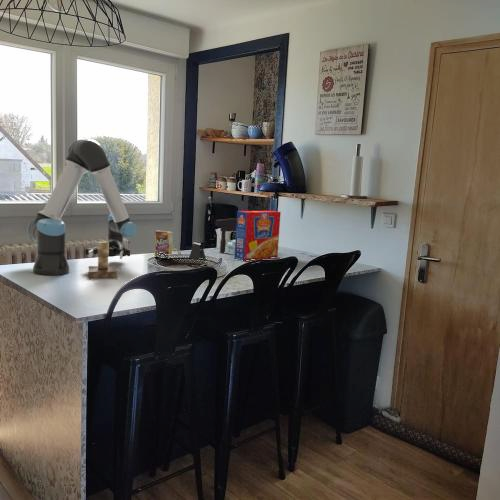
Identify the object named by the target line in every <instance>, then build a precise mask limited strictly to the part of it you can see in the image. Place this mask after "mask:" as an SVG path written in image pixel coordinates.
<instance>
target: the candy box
mask: <svg viewBox="0 0 500 500" xmlns="http://www.w3.org/2000/svg"><path fill="white" fill-rule="evenodd" d="M154 234H155V235H154V257H155V256H156V254H157V251H159V250H160V251H161V252H163V253H165V254H172V255H173V236H174V235H173V234H174V232H173V231H167V230H155V233H154Z"/></svg>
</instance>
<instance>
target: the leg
mask: <svg viewBox="0 0 500 500" xmlns="http://www.w3.org/2000/svg"><path fill="white" fill-rule="evenodd" d="M97 246H98V254H97V266H98V269H99V270H107V269H108V266H109V257H110V256H109V242H108V241H99V242H97Z"/></svg>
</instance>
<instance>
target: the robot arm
mask: <svg viewBox="0 0 500 500" xmlns="http://www.w3.org/2000/svg"><path fill="white" fill-rule="evenodd" d="M64 161H65V164H66V166H65V167H64V169H63V171H62V173H61V175H60V177H59V179H58V181H57V182H56V184H55V187H54V188H53V191H52V192H51V194H50V197H49V199H48V200H47V202H46V204H45V206H44V208H43V210H40V211H37V214H36V216H35V218H33V219H32V220H31V221H30V222H29V223H28V225H27V229H26V232H27V235H28V237H29V239H31V241H32V242H34V243H36V244H37V246H36V247H37V248H36V249H37V251H36V254H37V255H36V259H35V261H34V265H33V267H32V268H33V269H32V270H33V274H36V275H41V276H42V275H43V276H57V275H58V276H59V275H65V274H68V273H69V272H70V265H69V262H68V259H67V256H66V232H67V231H66V229H67V228H66V223H65V222H64V221H63V220H62V218H63V215H64V213H65V211H66V209H67V208H68V206H69V203H70V201H71V199H72V198H73V195H74V194H75V191H76V190H77V187H78V186H79V184H80V182H81V180H82V179H83V176H84V174H87V173H89V172H90V173H91V174H93V176H94V178H95V180H96V182H97V185H98V187H99V189H100V192H101V195H102V197H103V199H104V201H105V203H106V206H107V209H108V211H109V215H108V219H107V242H109V256H108V257H111V258H113V257H115V256H117V255H118V256H119V259H120V260H122V259H123V257H131V250H129V249H127V248H126V247H124V244H125V243H124V238H132V237H134V236H135V235H136V233H137V230H138V229H137V226H136V224H134V222H132V221H131V218H130V215H129V214H128V211H127V209H126V206H125V203H124V200H123V199H122V197H121V193H120V191H119V189H118V187H117V184H116V181H115V179H114V177H113V174H112V172H111V168H110V167H111V163H110V160H109V158H108V156H107V154H106V151H105V150H104V147H103V146H102V145H101V144H100V143H99V142H97V141H96V140H94V139H78V140H76V141H74V142H72V143H70V145H69V147H68V149H67V155H66V158H65V160H64ZM85 255H87V256H88V258H89V259H90V258H92V257H93V256H94V255H98V245H97V246H93V247H89V248H85Z"/></svg>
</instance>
